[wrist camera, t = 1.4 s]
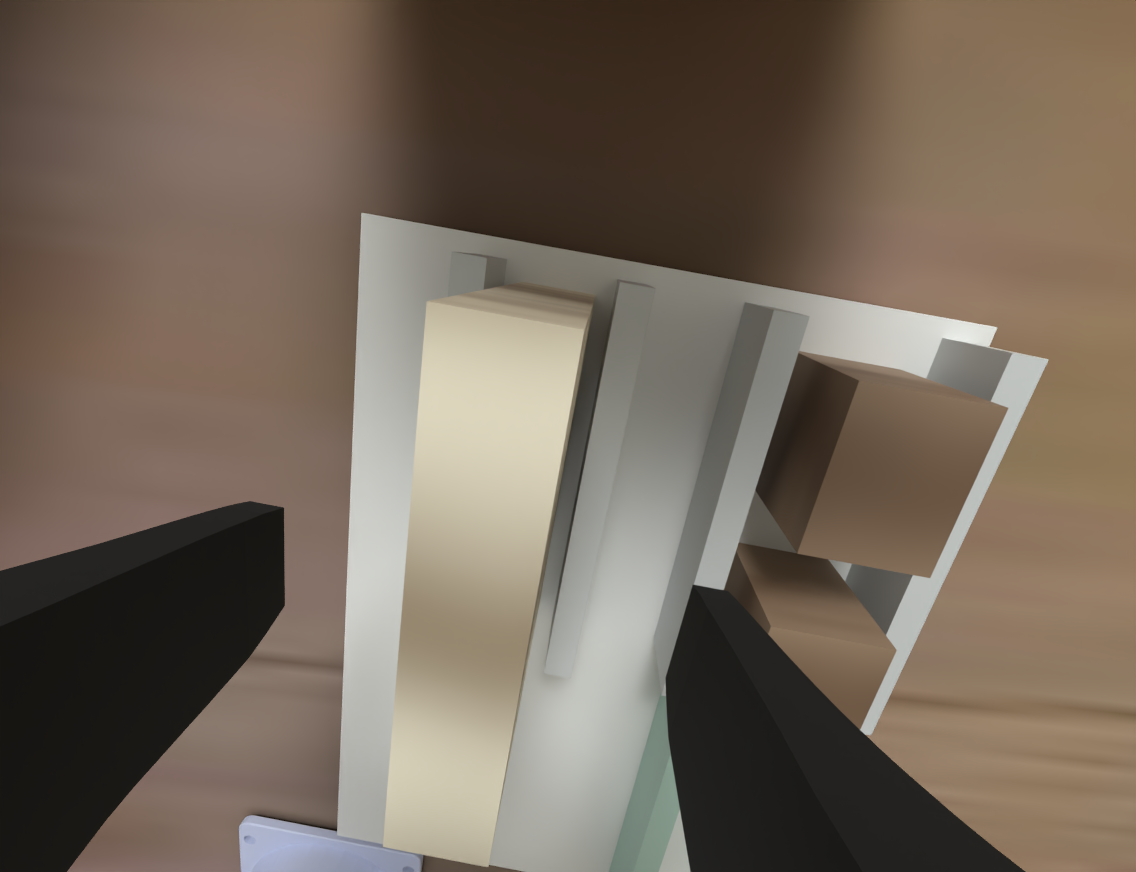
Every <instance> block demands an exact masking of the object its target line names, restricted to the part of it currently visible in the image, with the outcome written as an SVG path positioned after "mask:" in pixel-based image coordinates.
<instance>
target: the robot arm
mask: <svg viewBox="0 0 1136 872" xmlns="http://www.w3.org/2000/svg"><path fill="white" fill-rule="evenodd" d="M284 606H285V586H284V508H283V507H277V506H272V505H267V504H261V503H256V502H251V501H249V502H244V503H239V504H234V505H230V506H226V507H222V508H218V509H214V510H211V511H207V512H204V513H200V514H197V515H193V516H190V517H187V518H183V519H180V520H177V521H173V522H170V523H167V524H163V525H160V526H157V527H153V528H150V529H147V530H143V531H140V532H137V533H133V534H130V535H127V536H123V537H120V538H117V539H113V540H110V541H107V542H103V543H100V544H96V545H93V546H89V547H86V548H82V549H78V550H75V551H71V552H67V553H64V554H60V555H57V556H53V557H49V558H46V559H42V560H38V561H35V562H31V563H28V564H24V565H20V566H17V567H13V568H9V569H6V570H2V571H0V872H67V871H68V869H69V868H70V867H71V865H72V864H73V863H74V861H75V860H76V859H77V858H78V856H79V855H80V854H81V852H82V851H83V850H84V848H85V847H86V846H87V844H88V843H89V842H90V840H91V839H92V838H93V837H94V835H95V834H96V833H97V831H98V830H99V829H100V827H101V826H102V825H103V823H104V822H105V821H106V820H107V818H108V817H109V816H110V815H111V814H112V812H113V811H114V810H115V809H116V808H117V806H118V805H119V804H120V803H121V802H122V801H123V799H124V798H125V797H126V796H127V795H128V793H129V792H130V791H131V790H132V789H133V787H134V786H135V785H136V784H137V783H138V782H139V781H140V780H141V778H142V777H143V776H144V775H145V774H146V773H147V772H148V771H149V769H150V768H151V767H152V766H153V765H154V764H155V763H156V762H157V761H158V759H159V758H160V757H161V756H162V755H163V754H164V753H165V752H166V751H167V749H168V748H169V747H170V746H171V745H172V744H173V743H174V742H175V740H176V739H177V738H178V737H179V736H180V735H181V734H182V733H183V732H184V730H185V729H186V728H187V727H188V726H189V725H190V724H191V723H192V722H193V720H194V719H195V718H196V717H197V716H198V715H199V714H200V713H201V711H202V710H203V709H204V708H205V707H206V706H207V705H208V704H209V703H210V701H211V700H212V699H213V698H214V697H215V696H216V695H217V694H218V692H219V691H220V690H221V689H222V688H223V687H224V686H225V684H226V683H227V682H228V681H229V680H230V679H231V678H232V677H233V675H234V674H235V673H236V672H237V671H238V670H239V669H240V667H241V666H242V665H243V664H244V663H245V662H246V660H247V659H248V658H249V657H250V655H251V654H252V653H253V651H254V650H255V648H256V647H257V646H258V644H259V643H260V641H261V640H262V639H263V637H264V636H265V634H266V633H267V631H268V630H269V628H270V627H271V625H272V624H273V622H274V621H275V619H276V618H277V616H278V615H279V613H280V612H281V610H282V609H283V607H284ZM665 680H666V707H667V725H668V739H669V746H670V752H671V758H672V765H673V771H674V777H675V783H676V789H677V795H678V801H679V807H680V813H681V819H682V825H683V831H684V837H685V842H686V848H687V854H688V860H689V866H690V872H1025V871H1024V870H1022V869H1021V868H1020V867H1019V866H1017V865H1016V864H1015V863H1013V862H1012V861H1011V860H1010V859H1008V858H1007V857H1006V856H1004V855H1003V854H1002V853H1001V852H999V851H998V850H997V849H995V848H994V847H993V846H992V845H991V844H989V843H988V842H987V841H986V840H984V839H983V838H982V837H981V836H980V835H978V834H977V833H976V832H975V831H973V830H972V829H971V828H970V827H969V826H967V825H966V824H965V823H964V822H962V821H961V820H960V819H959V818H958V817H956V816H955V815H954V814H953V813H952V812H951V811H949V810H948V809H947V808H946V807H945V806H944V805H943V804H941V803H940V802H939V801H938V800H937V799H936V798H934V797H933V796H932V795H931V794H930V793H929V792H928V791H926V790H925V789H924V788H923V787H922V786H921V785H919V784H918V783H917V782H916V781H915V780H914V779H913V778H911V777H910V776H909V775H908V774H907V773H906V772H905V771H903V770H902V769H901V768H900V767H899V766H898V765H897V764H896V763H895V762H893V761H892V760H891V759H890V758H889V757H888V756H887V755H886V754H885V753H884V752H883V751H881V750H880V749H879V748H878V747H877V746H876V745H875V744H874V743H873V742H872V741H871V740H870V739H869V738H868V737H867V736H866V735H865V734H864V733H863V732H862V731H861V730H860V729H859V728H858V727H857V726H856V725H855V724H853V723H852V722H851V721H850V720H849V719H848V718H847V717H846V716H845V715H844V714H843V713H842V712H841V711H840V710H839V709H838V708H837V707H836V706H835V705H834V704H833V703H832V702H831V701H830V700H829V699H828V698H827V697H826V696H825V695H824V694H823V693H822V692H821V691H820V690H819V688H818V687H817V686H816V685H815V684H814V683H813V682H812V681H811V680H810V679H809V678H808V677H807V676H806V675H805V674H804V673H803V672H802V671H801V669H800V668H799V667H798V666H797V665H796V664H795V663H794V662H793V661H792V660H791V659H790V658H789V657H788V655H787V654H786V653H785V652H784V651H783V650H782V649H781V648H780V647H779V646H778V645H777V643H776V642H775V641H774V640H773V639H772V638H771V637H770V636H769V635H768V633H767V632H766V631H765V630H764V629H763V628H762V627H761V626H760V625H759V623H758V622H757V621H756V620H755V619H754V618H753V617H752V616H751V615H750V614H749V612H748V611H747V610H746V609H745V608H744V607H743V606H742V605H741V604H740V603H739V602H738V601H737V600H736V599H735V598H734V597H733V596H732V595H731V594H730V593H729V592H728V591H725V590H720V589H714V588H709V587H704V586H698V585H692V589H691V592H690V596H689V599H688V602H687V606H686V609H685V613H684V616H683V620H682V623H681V626H680V630H679V633H678V637H677V640H676V643H675V647H674V650H673V654H672V657H671V661H670V664H669V667H668V671H667V674H666V678H665ZM239 841H240V862H241V872H422V864H423V855H422V854H417V853H411V852H406V851H401V850H396V849H391V848H386V847H383V844H379V843H374V842H369V841H364V840H359V839H353V838H348V837H343V836H338V835H337V831H333V830H328V829H323V828H318V827H313V826H308V825H302V824H297V823H292V822H287V821H282V820H277V819H271V818H266V817H261V816H256V815H250V816H247V817H245V818H244V820H243V821H242V823H241V824H240V826H239Z"/></svg>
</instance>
